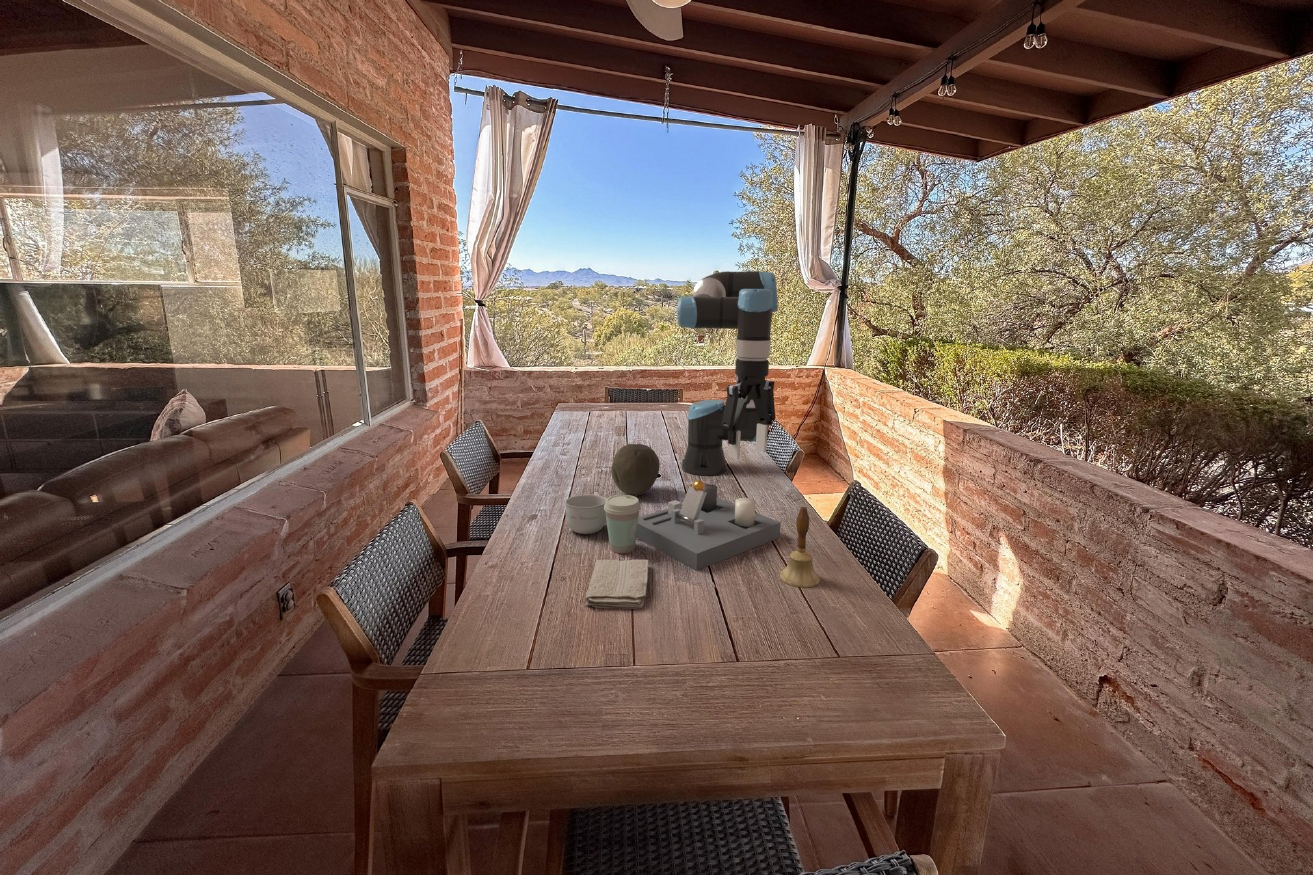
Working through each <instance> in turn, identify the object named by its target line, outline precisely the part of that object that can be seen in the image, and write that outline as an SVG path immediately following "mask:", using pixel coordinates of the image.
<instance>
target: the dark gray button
mask: <svg viewBox="0 0 1313 875" xmlns="http://www.w3.org/2000/svg"><path fill="white" fill-rule="evenodd" d="M704 485H705V488H704V490H703V492H706V496H705V499H704V502H703V505H702V508H701V510H705V511H712V510H715V509H716V508H717V498H718V486H717V485H715V484H711V483H704Z"/></svg>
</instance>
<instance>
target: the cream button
mask: <svg viewBox="0 0 1313 875" xmlns="http://www.w3.org/2000/svg"><path fill="white" fill-rule="evenodd" d="M734 502H735V503H734V504H735V524H736V525H739V526H744V527H748V526H752V525H754V520H755V513H756V500H755V499H752V498H750V497H740V498H736V499H735V501H734Z"/></svg>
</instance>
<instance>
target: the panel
mask: <svg viewBox="0 0 1313 875" xmlns="http://www.w3.org/2000/svg"><path fill="white" fill-rule="evenodd" d="M682 505H683V503H682ZM680 511H681V510H680V509H675V510H671V515H670V514H668V508H665V509H663V510H658V511H654V512H651V513H649V514H644V515H641V516H639V518H638V526H637V535H636V539H638V540H640V541H641V542H643V543H645V544H647V545H648V546H650V547H652V548H654V549H657V551H659V552H662V553H663V554H665V555H667V556H669V557H671V558H673V559H675V560H676V561H678V562H679V563H680V562H681V563H682V564H683V563H684V565H685V566H686V567H687V566H688V567H689V568H691V569H692V570H694V569H695V571H696V570H697V571H698V570H701V569H704V568H706V567H709V566H711V565H714V564H716V563H719V562H722V561H724V560H726V559H728V558H731V557H734V556H736V555H739V554H742V553H744V552H746V551H749V550H752V549H754V548H756V547H759V546H762V545H764V544H767V543H769V542H771V541H775V540H777V539H780V538H781V537H780V536H781V524H782V523H781V521H778V520H775V519H773V518H770V517H768V516H765V515H763V514H760V513H758V512H755V520H754V525H752V526H748V527H744V526H739V525H736V524H735V503H732V502H730V501H727V500H724V499H721V498H719V497H717V508H716V509H715V510H712V511H705V510H700V513H699V516H698V519H697V520H695V521H694V525H693V524H691V523H688V522H686V521H684V520H682V519H680V518H678V517H677V514H678V513H680Z"/></svg>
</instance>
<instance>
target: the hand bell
mask: <svg viewBox="0 0 1313 875" xmlns="http://www.w3.org/2000/svg"><path fill="white" fill-rule="evenodd" d="M795 523H796V525H795V526H796V530H797V535H798V538H797V545H796V546H797V549H796V550H794V551H792V552H791V553H790V555H789V560H788V562H787V565H786V567H785V568H784V569H782V570H781V571H780V573H779V579H780V580H781V581H782V582H784V584H786V585H788V586H792V587H796V588H800V589H802V588H803V589H804V588H806V589H807V588H808V589H809V588H812V587H816V586H817V585H819V583H820V581H821V580H820V579H821V577H820V576H819V574H818V573H817V572H816V571H815V568H814V566H813V565H814V564H813V556H812V554H811V553H809V552H808V551H807V549H806V548H807V546H806V544H807V534H808V532H809V527H810V516H809V513H808V508H807V507H806V506H800V509H799V511H798V514H797V516H796V522H795Z"/></svg>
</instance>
